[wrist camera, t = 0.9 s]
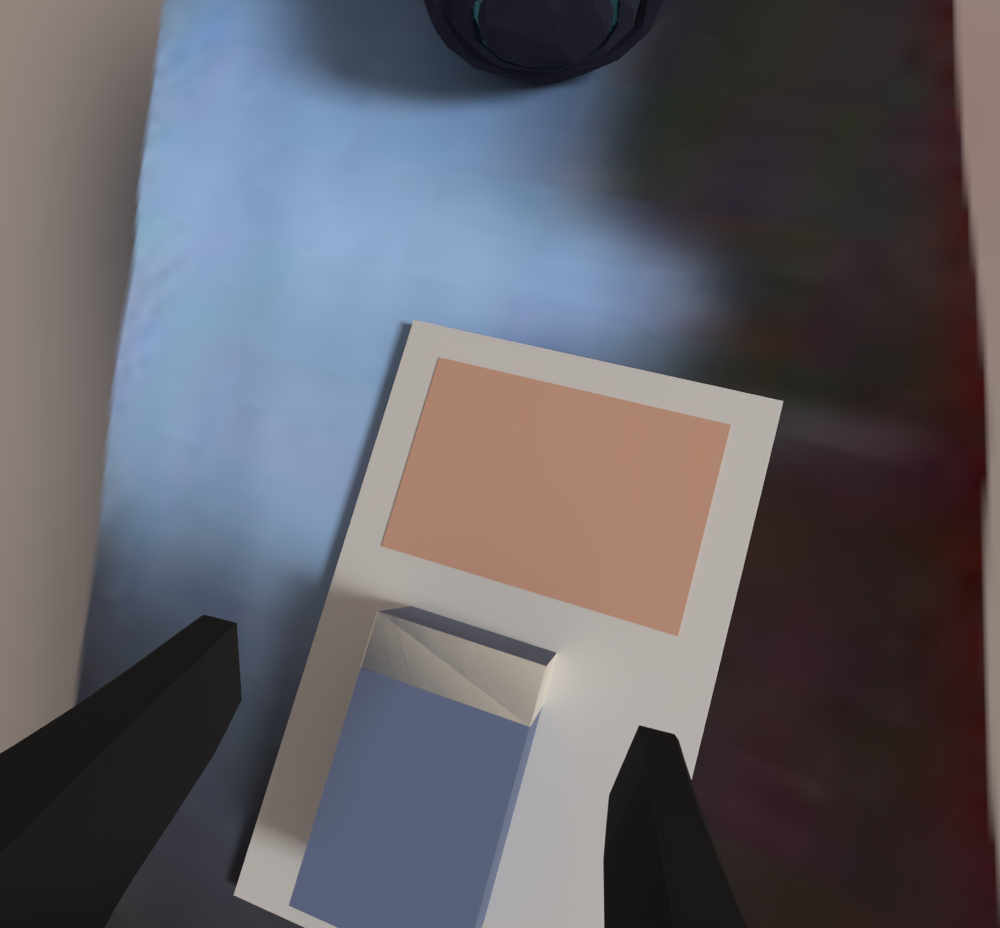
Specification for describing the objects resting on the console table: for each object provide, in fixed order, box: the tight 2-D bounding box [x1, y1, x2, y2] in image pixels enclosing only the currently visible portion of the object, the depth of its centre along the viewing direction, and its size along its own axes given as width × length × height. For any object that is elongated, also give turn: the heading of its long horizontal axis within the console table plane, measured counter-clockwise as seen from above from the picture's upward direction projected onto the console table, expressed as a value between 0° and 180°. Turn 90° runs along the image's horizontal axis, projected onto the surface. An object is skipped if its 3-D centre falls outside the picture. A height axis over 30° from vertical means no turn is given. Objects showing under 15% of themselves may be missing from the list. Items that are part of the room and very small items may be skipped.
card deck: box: [289, 606, 557, 928], centre depth 21 cm, size 9×6×3 cm, turn 164°
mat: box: [234, 320, 783, 928], centre depth 23 cm, size 22×14×1 cm, turn 164°
